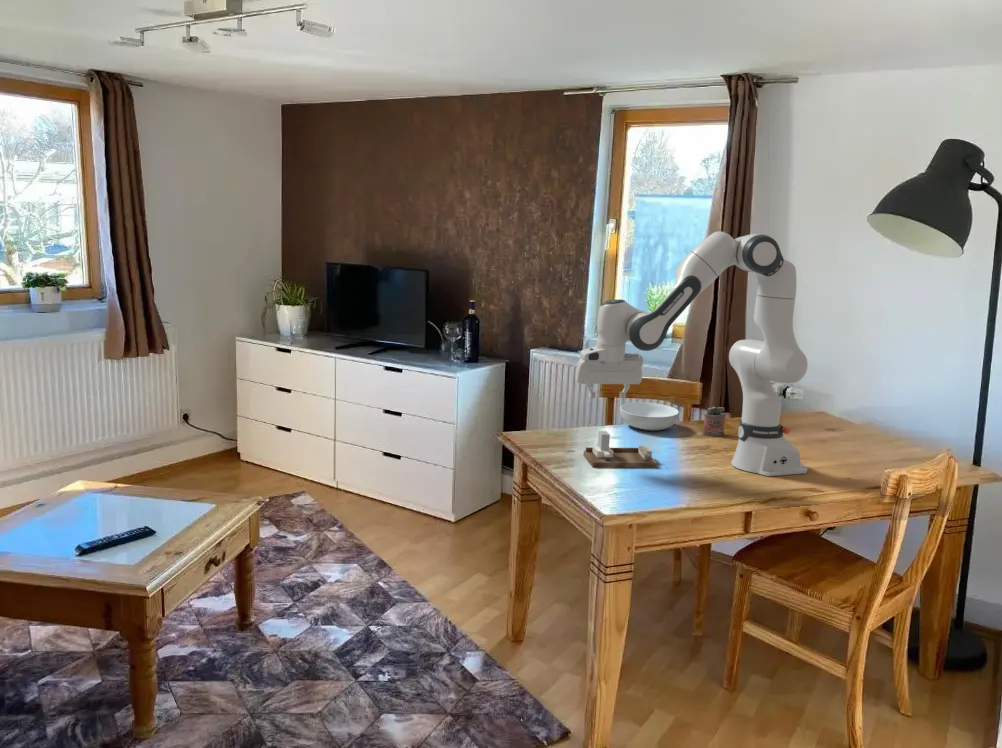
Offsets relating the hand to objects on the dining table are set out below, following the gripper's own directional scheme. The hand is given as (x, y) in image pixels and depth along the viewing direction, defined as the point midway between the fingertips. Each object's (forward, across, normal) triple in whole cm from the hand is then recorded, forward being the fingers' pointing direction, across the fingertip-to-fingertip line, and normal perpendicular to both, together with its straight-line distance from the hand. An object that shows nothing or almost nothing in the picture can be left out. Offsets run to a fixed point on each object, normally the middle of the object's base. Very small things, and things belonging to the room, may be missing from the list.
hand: (607, 397), depth 245 cm
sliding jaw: (+18, 0, +2) cm, 18 cm away
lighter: (+21, -48, -29) cm, 60 cm away
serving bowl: (+21, -27, -38) cm, 51 cm away
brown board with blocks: (+20, -5, +2) cm, 20 cm away
